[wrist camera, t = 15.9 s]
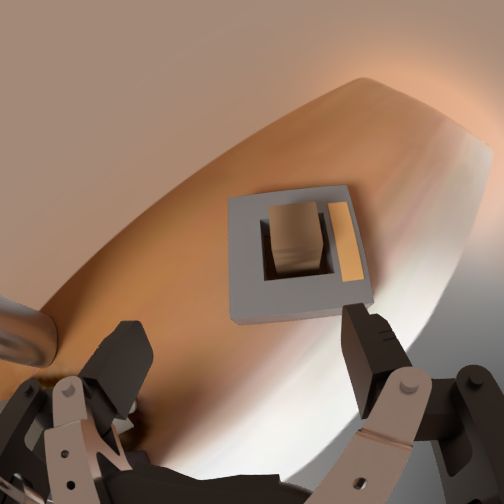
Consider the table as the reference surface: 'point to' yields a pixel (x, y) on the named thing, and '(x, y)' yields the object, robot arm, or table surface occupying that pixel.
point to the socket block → (302, 288)
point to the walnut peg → (295, 239)
